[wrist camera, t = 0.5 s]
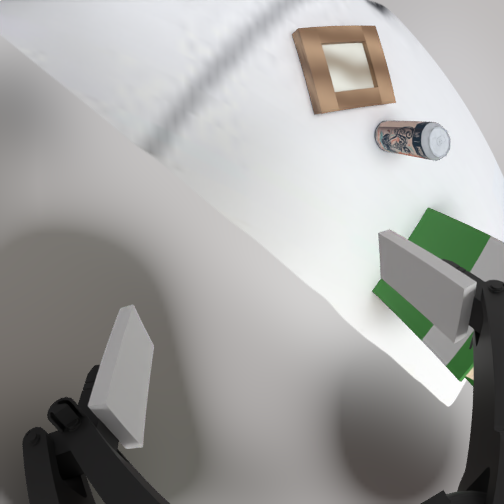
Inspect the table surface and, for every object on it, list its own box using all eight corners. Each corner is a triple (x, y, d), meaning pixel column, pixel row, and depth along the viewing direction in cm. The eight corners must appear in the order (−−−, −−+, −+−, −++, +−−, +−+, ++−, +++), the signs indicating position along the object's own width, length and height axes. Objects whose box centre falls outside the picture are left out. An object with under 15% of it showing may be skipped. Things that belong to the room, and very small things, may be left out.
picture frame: (292, 34, 33) (298, 28, 30) (366, 30, 33) (375, 25, 31) (314, 114, 37) (322, 113, 35) (385, 103, 38) (395, 102, 36)
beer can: (368, 130, 39) (420, 134, 28) (389, 115, 39) (443, 115, 28) (383, 157, 41) (436, 169, 30) (403, 141, 41) (457, 149, 30)
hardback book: (395, 306, 52) (475, 387, 30) (372, 291, 50) (458, 380, 28) (447, 229, 48) (545, 284, 26) (427, 207, 46) (537, 260, 24)
